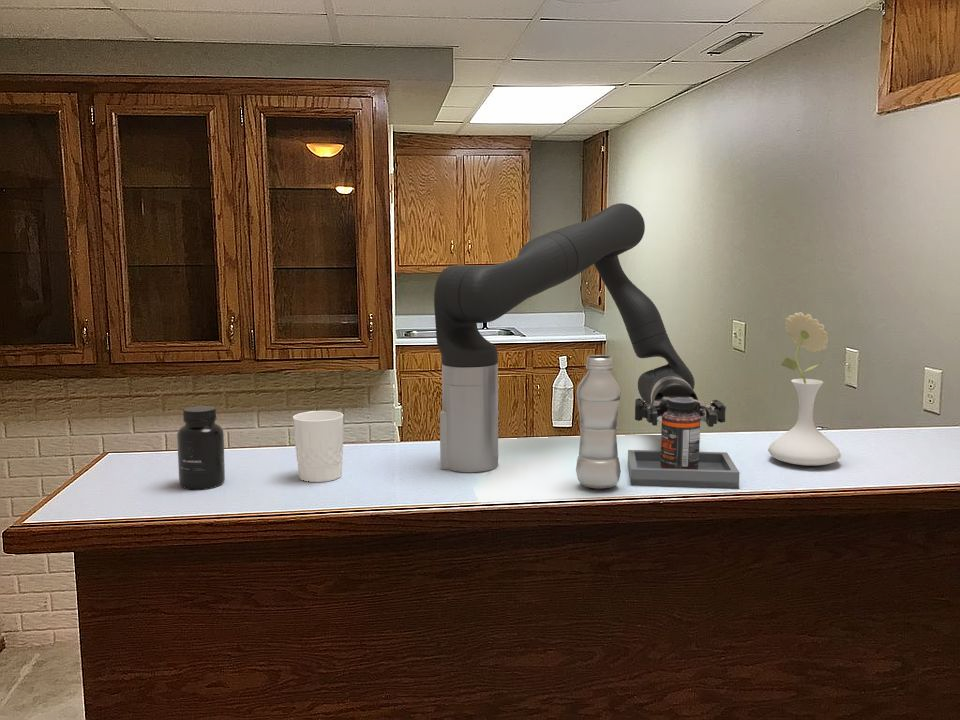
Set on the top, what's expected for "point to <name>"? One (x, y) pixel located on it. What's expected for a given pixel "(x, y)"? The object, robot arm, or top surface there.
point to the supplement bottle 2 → (680, 435)
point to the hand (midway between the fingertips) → (683, 419)
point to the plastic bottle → (598, 425)
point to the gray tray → (683, 471)
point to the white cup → (319, 445)
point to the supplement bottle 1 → (200, 449)
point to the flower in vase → (805, 401)
